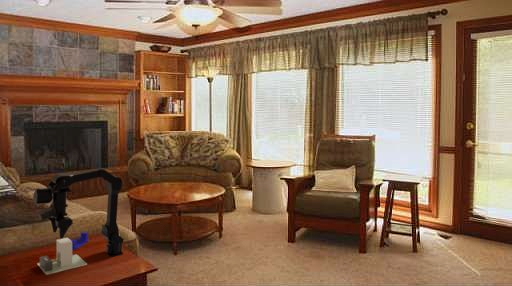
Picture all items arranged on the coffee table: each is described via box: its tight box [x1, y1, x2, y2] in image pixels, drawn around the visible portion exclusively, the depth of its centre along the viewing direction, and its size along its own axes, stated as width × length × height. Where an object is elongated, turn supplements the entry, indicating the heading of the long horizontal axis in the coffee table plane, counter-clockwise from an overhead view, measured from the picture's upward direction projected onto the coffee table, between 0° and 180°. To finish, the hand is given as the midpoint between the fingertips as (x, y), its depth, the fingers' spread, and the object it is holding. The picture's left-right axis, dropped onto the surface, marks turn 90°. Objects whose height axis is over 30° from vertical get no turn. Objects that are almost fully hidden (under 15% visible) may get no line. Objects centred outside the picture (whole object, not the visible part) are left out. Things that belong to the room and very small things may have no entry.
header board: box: [36, 254, 88, 276], centre depth 198 cm, size 18×14×5 cm
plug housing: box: [56, 237, 73, 267], centre depth 198 cm, size 5×6×11 cm
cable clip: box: [69, 231, 89, 251], centre depth 219 cm, size 12×4×6 cm, turn 169°
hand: (57, 235), depth 194 cm, fingers open, 9 cm apart
